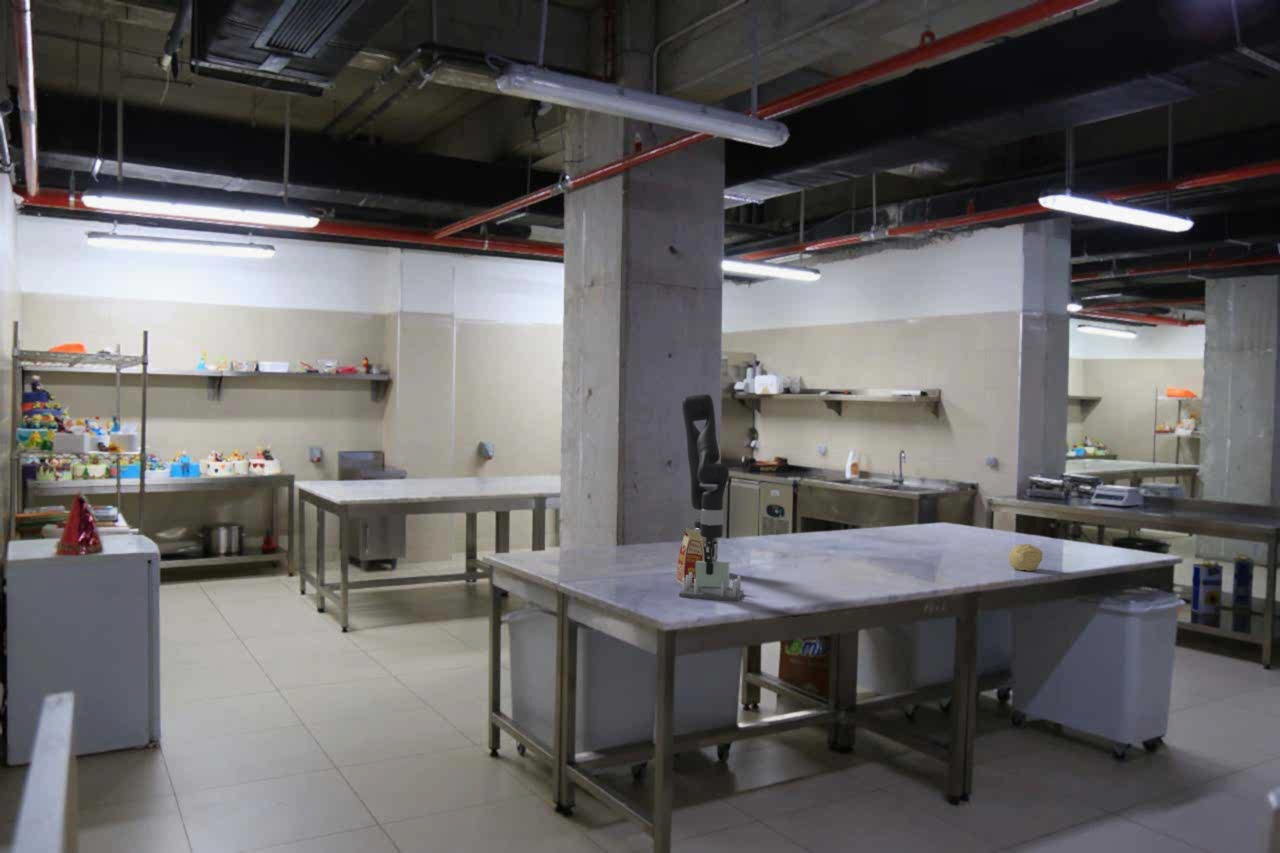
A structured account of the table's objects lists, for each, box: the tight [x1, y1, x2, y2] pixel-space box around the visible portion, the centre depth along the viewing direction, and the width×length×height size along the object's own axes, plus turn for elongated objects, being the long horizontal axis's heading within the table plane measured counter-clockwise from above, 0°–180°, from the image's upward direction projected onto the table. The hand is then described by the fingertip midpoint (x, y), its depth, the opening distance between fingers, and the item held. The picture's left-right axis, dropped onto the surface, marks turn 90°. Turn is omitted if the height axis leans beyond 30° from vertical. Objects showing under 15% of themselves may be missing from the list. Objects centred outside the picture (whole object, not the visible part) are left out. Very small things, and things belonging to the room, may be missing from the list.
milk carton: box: [676, 528, 704, 586], centre depth 327 cm, size 9×9×20 cm
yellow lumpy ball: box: [1008, 543, 1044, 572], centre depth 370 cm, size 12×12×11 cm
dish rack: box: [678, 572, 744, 602], centre depth 306 cm, size 12×20×6 cm, turn 75°
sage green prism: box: [696, 561, 730, 588], centre depth 303 cm, size 3×11×8 cm, turn 75°
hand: (710, 573), depth 303 cm, fingers closed on sage green prism, 3 cm apart
